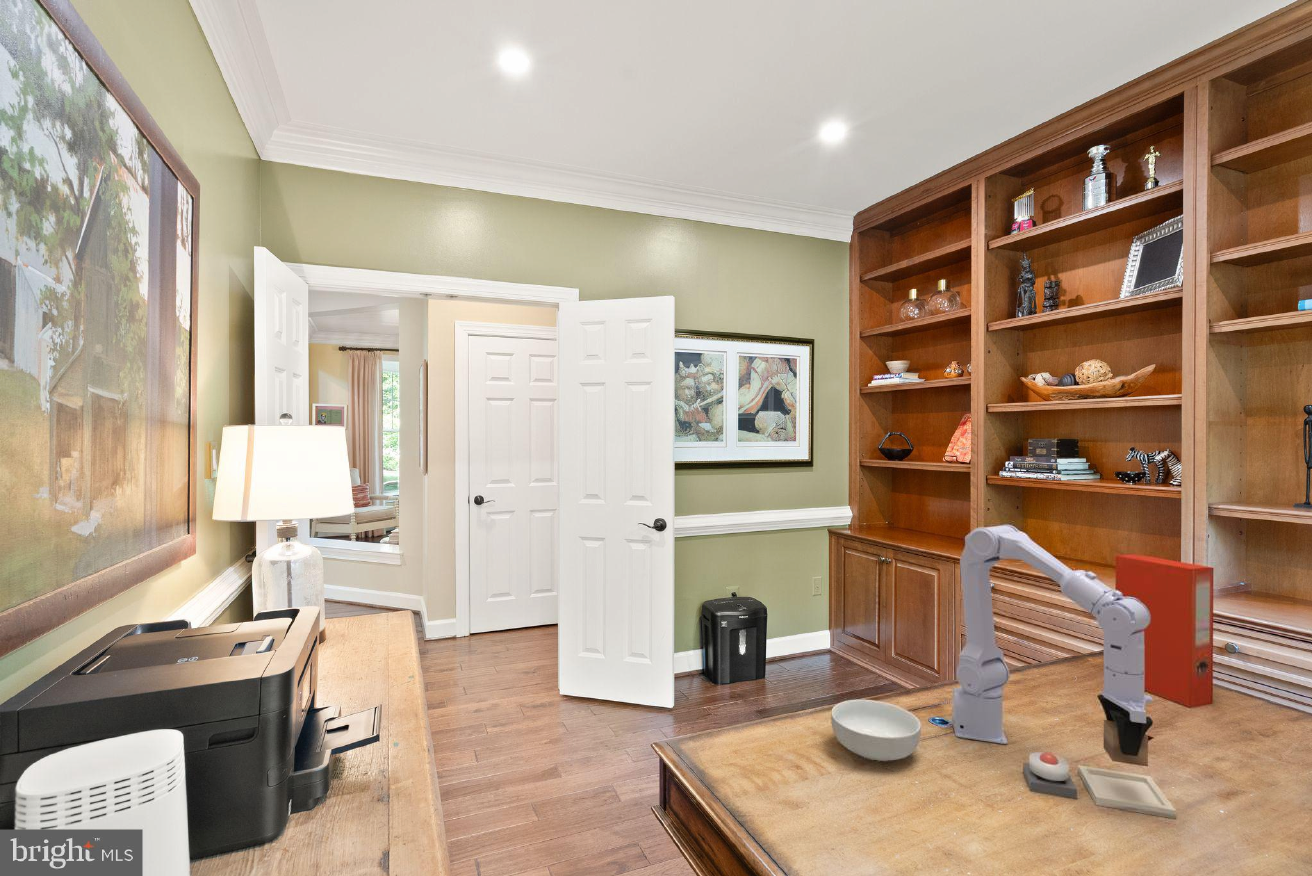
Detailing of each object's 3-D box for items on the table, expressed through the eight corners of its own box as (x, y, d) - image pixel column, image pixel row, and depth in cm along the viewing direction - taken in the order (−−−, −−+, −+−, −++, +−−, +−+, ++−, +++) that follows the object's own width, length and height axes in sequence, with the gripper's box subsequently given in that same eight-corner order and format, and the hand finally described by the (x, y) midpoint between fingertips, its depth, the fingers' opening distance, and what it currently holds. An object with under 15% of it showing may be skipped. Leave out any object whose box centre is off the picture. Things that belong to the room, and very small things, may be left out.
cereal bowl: (869, 781, 114) (869, 742, 114) (814, 740, 129) (814, 706, 129) (940, 763, 120) (940, 726, 120) (880, 726, 135) (880, 693, 135)
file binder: (1137, 676, 163) (1137, 553, 163) (1213, 703, 147) (1213, 566, 147) (1114, 680, 161) (1114, 555, 161) (1189, 707, 144) (1189, 569, 144)
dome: (1033, 786, 111) (1033, 758, 111) (1026, 769, 116) (1026, 742, 116) (1072, 793, 109) (1072, 764, 109) (1064, 775, 114) (1064, 748, 114)
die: (1112, 760, 108) (1112, 731, 108) (1103, 747, 113) (1103, 719, 113) (1147, 766, 106) (1148, 736, 106) (1137, 752, 111) (1137, 724, 111)
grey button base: (1030, 790, 110) (1030, 781, 110) (1022, 770, 117) (1022, 762, 117) (1077, 798, 108) (1077, 789, 108) (1066, 778, 115) (1066, 769, 115)
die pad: (1096, 804, 106) (1096, 796, 106) (1078, 772, 116) (1078, 764, 116) (1175, 818, 102) (1175, 810, 102) (1150, 784, 113) (1150, 776, 113)
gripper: (1168, 687, 101) (1169, 771, 101) (1136, 657, 115) (1136, 732, 115) (1116, 681, 104) (1116, 763, 104) (1090, 653, 117) (1090, 725, 117)
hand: (1123, 746), depth 109 cm, fingers closed on die, 5 cm apart
